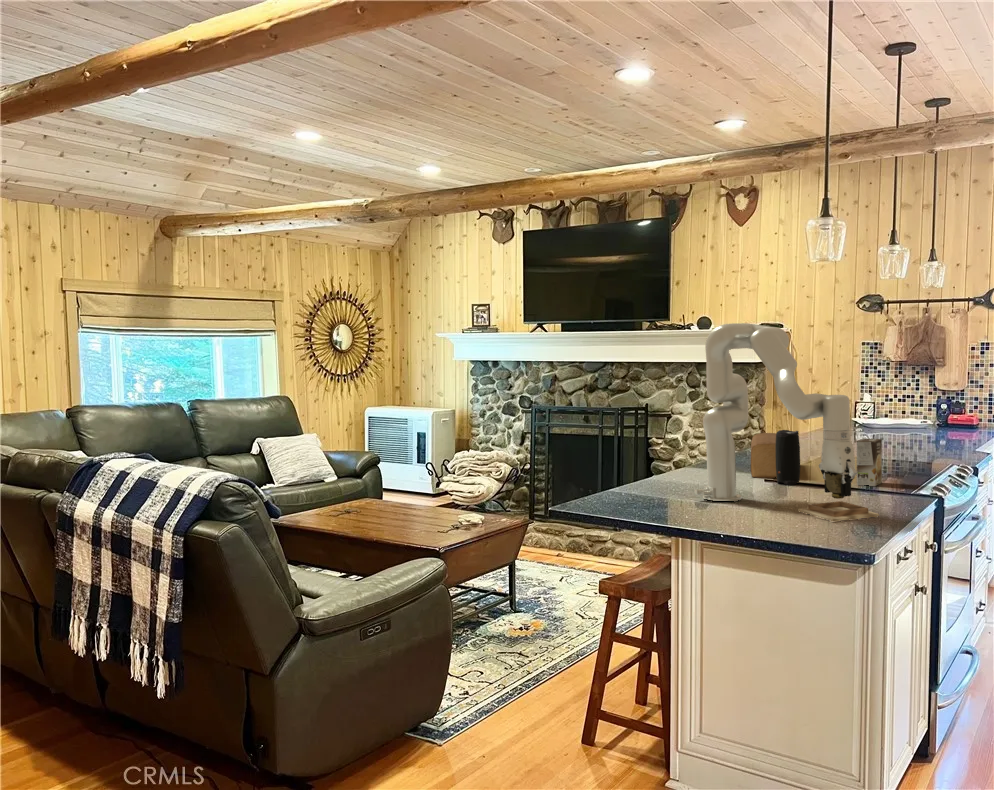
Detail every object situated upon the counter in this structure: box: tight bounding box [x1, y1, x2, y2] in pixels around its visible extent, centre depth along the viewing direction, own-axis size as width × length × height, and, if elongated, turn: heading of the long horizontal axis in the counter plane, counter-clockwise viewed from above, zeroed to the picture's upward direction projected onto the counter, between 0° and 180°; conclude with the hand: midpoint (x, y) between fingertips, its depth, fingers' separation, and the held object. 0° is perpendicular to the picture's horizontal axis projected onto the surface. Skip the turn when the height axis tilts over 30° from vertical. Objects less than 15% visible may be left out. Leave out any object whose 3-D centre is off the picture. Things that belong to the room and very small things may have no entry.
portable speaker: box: [775, 429, 801, 486], centre depth 299 cm, size 9×9×20 cm
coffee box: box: [856, 438, 883, 487], centre depth 292 cm, size 9×6×16 cm
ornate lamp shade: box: [824, 472, 847, 500], centre depth 246 cm, size 8×7×8 cm
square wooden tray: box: [798, 500, 880, 521], centre depth 247 cm, size 16×16×2 cm
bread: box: [750, 432, 777, 479], centre depth 328 cm, size 14×34×14 cm, turn 162°
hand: (837, 493), depth 246 cm, fingers closed on ornate lamp shade, 6 cm apart
